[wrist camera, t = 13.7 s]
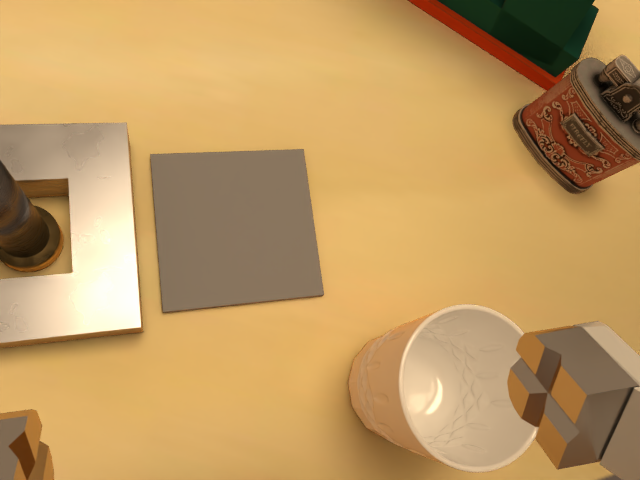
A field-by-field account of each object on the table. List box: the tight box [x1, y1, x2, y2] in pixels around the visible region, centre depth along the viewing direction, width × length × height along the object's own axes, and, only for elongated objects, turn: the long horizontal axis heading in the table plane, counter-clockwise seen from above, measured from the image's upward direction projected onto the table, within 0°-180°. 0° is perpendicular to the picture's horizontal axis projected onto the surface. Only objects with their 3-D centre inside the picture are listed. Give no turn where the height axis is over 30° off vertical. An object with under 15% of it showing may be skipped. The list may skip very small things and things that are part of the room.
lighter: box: [513, 55, 640, 194], centre depth 40 cm, size 8×3×10 cm, turn 42°
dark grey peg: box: [0, 160, 64, 272], centre depth 28 cm, size 4×4×12 cm
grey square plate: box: [150, 149, 324, 313], centre depth 36 cm, size 10×10×1 cm
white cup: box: [348, 304, 536, 472], centre depth 32 cm, size 8×8×10 cm
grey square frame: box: [0, 123, 143, 348], centre depth 32 cm, size 12×12×3 cm
